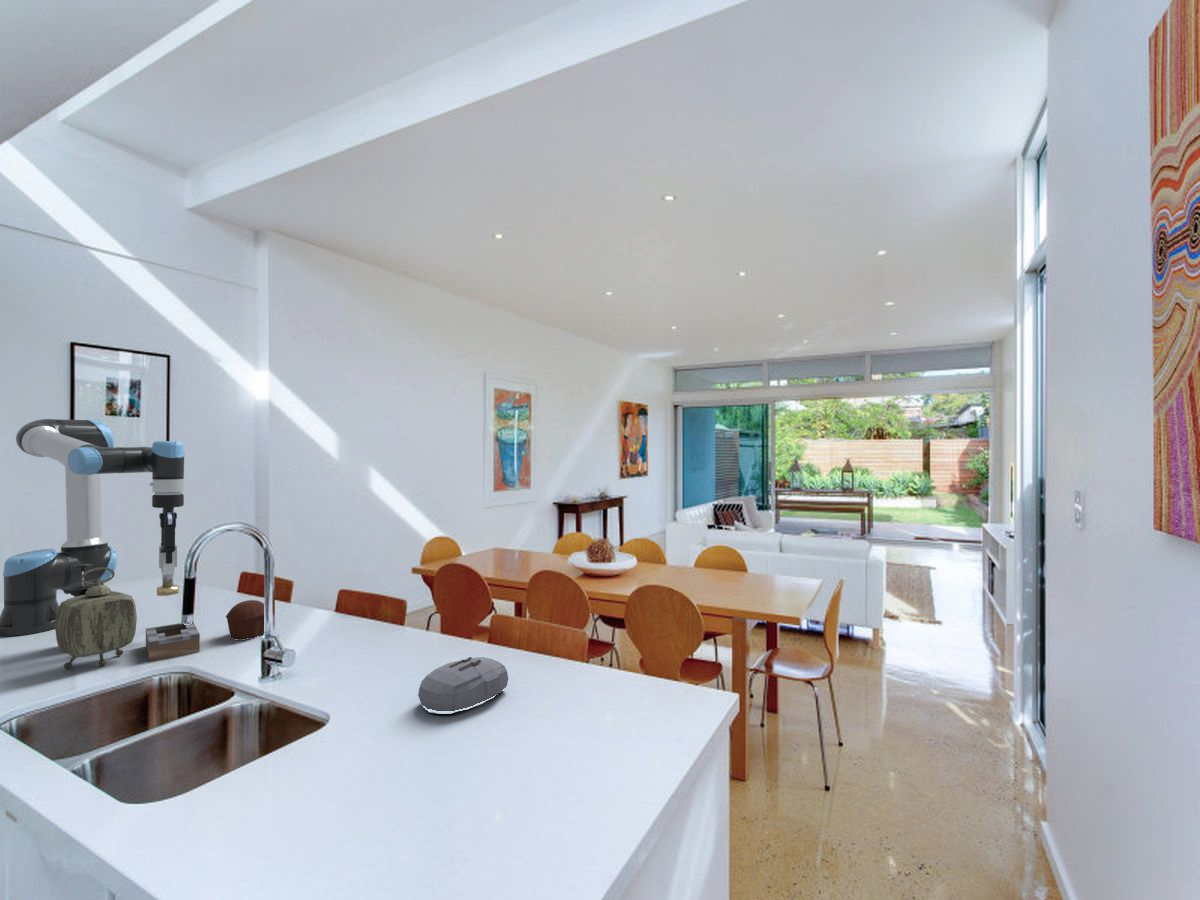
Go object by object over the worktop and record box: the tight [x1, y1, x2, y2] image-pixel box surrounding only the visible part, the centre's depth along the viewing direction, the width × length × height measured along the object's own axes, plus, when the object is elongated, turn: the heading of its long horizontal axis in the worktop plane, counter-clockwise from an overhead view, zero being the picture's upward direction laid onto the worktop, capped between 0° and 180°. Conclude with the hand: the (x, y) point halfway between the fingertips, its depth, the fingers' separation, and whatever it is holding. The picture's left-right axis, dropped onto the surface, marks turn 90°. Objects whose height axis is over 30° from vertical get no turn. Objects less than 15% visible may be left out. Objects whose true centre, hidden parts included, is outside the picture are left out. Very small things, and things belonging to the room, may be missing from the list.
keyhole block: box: [145, 620, 201, 662], centre depth 163 cm, size 15×11×5 cm
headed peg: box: [156, 544, 180, 597], centre depth 173 cm, size 5×5×14 cm
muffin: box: [225, 599, 265, 640], centre depth 176 cm, size 12×11×10 cm
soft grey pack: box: [418, 656, 509, 711], centre depth 132 cm, size 15×8×20 cm
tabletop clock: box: [54, 567, 138, 670], centre depth 152 cm, size 14×9×25 cm, turn 149°
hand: (167, 572), depth 173 cm, fingers closed on headed peg, 4 cm apart
